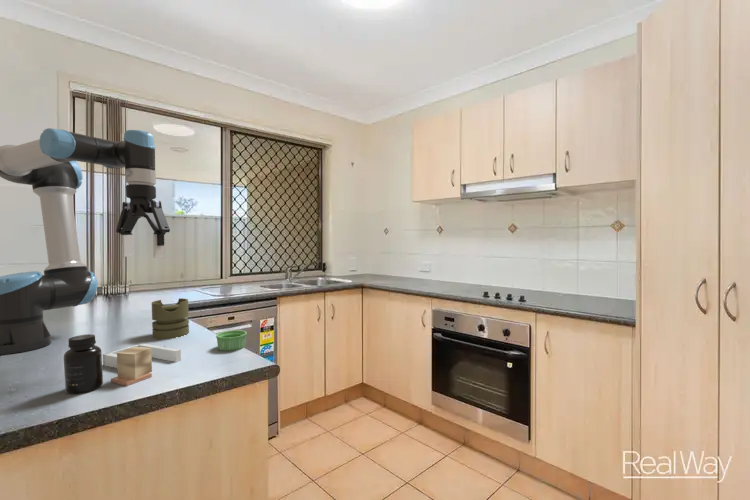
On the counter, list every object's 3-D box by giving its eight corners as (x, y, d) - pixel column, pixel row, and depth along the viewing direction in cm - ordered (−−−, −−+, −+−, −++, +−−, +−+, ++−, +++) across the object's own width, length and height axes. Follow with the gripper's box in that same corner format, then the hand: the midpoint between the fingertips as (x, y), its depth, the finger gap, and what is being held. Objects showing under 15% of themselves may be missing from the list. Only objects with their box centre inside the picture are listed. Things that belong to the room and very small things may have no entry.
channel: (103, 365, 100) (102, 354, 100) (142, 353, 110) (142, 343, 110) (142, 373, 94) (142, 362, 94) (180, 360, 104) (180, 349, 104)
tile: (110, 382, 89) (110, 378, 89) (135, 373, 94) (135, 370, 94) (127, 385, 86) (127, 382, 86) (151, 376, 92) (151, 373, 92)
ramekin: (245, 342, 122) (245, 328, 122) (248, 349, 114) (248, 335, 114) (215, 345, 118) (215, 331, 118) (217, 353, 110) (216, 339, 110)
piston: (151, 300, 133) (187, 297, 138) (152, 333, 133) (187, 329, 139) (151, 305, 123) (189, 302, 129) (152, 341, 123) (190, 336, 129)
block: (134, 370, 94) (134, 346, 94) (151, 371, 93) (151, 348, 93) (117, 377, 89) (116, 353, 89) (135, 379, 88) (134, 354, 88)
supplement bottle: (79, 383, 88) (77, 333, 88) (109, 382, 89) (107, 332, 88) (57, 395, 81) (54, 341, 81) (89, 394, 82) (87, 340, 81)
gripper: (100, 185, 111) (103, 256, 112) (158, 180, 101) (160, 258, 102) (126, 188, 118) (128, 255, 118) (182, 184, 108) (184, 256, 109)
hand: (143, 257), depth 110 cm, fingers open, 13 cm apart
